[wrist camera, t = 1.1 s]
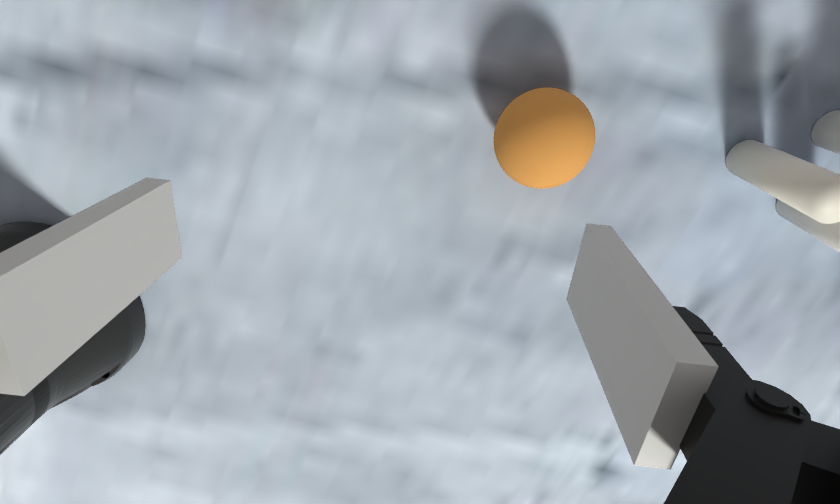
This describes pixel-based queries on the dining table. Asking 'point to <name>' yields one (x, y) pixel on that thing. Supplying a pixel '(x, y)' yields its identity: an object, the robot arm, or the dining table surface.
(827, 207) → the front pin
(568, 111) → the ball
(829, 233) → the pin
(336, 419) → the dining table surface
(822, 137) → the pin
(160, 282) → the dining table surface
